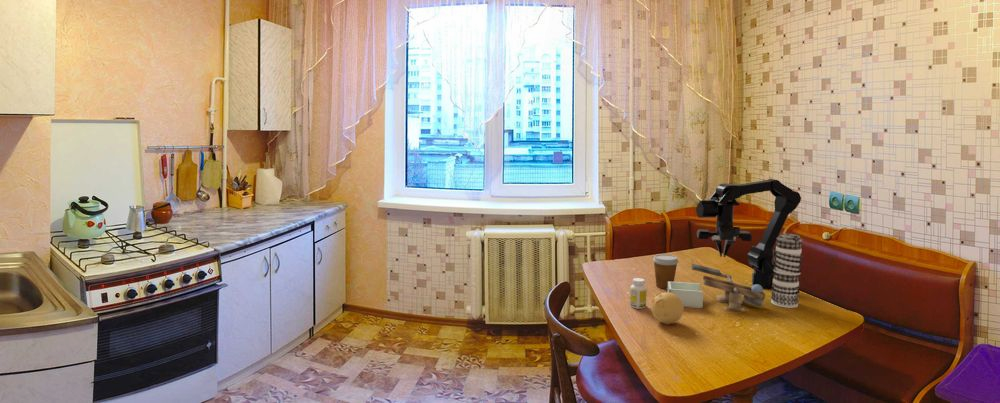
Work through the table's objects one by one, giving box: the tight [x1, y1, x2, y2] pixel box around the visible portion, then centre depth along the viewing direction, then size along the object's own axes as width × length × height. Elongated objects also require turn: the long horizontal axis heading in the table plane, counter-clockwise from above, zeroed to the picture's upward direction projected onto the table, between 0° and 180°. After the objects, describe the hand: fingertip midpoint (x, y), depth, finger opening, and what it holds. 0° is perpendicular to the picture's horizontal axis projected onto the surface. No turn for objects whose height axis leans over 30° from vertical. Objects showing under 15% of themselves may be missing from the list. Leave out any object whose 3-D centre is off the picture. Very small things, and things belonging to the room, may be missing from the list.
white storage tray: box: [666, 281, 704, 309], centre depth 180 cm, size 11×9×6 cm
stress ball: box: [650, 291, 685, 325], centre depth 161 cm, size 10×10×10 cm
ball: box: [751, 284, 764, 293], centre depth 173 cm, size 4×4×4 cm
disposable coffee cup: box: [652, 253, 679, 290], centre depth 197 cm, size 10×10×12 cm
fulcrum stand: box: [716, 290, 745, 312], centre depth 177 cm, size 8×13×6 cm, turn 165°
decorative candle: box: [770, 232, 804, 309], centre depth 176 cm, size 9×9×25 cm
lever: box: [691, 263, 766, 307], centre depth 180 cm, size 23×19×5 cm
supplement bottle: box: [629, 277, 647, 310], centre depth 176 cm, size 5×5×10 cm
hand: (722, 256), depth 193 cm, fingers closed
